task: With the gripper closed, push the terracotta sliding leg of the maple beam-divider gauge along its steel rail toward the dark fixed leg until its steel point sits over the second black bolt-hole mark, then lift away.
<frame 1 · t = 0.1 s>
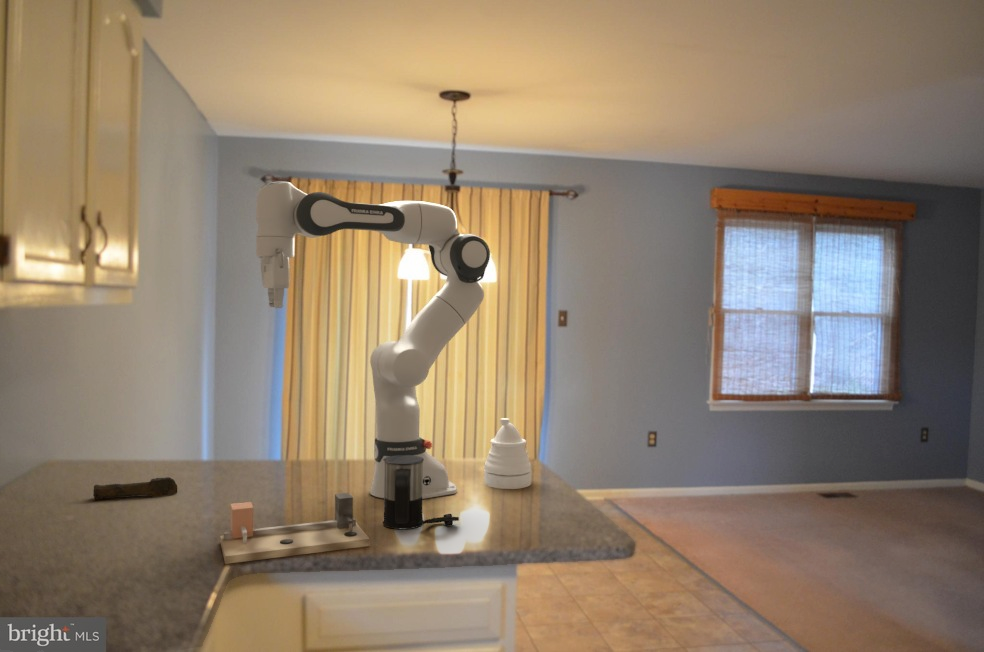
hand: (275, 307, 181), 48 cm above the worktop, fingers open, 8 cm apart
milk frother: (420, 526, 169), on the worktop
sliding leg: (242, 523, 152), point 5 cm above the worktop, slide at 8.0 cm
honey pot: (507, 483, 207), on the worktop
hand tool: (136, 497, 189), on the worktop
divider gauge: (294, 544, 155), on the worktop
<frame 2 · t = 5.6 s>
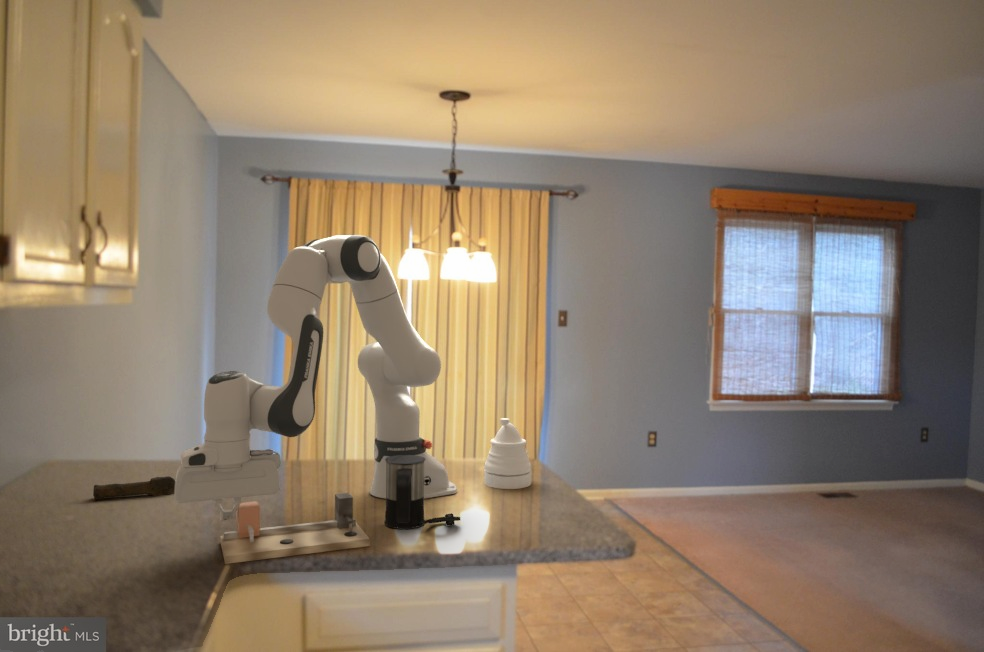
hand: (228, 519, 154), 5 cm above the worktop, fingers closed
sliding leg: (249, 522, 153), point 5 cm above the worktop, slide at 6.7 cm, touching gripper
everything else where it was.
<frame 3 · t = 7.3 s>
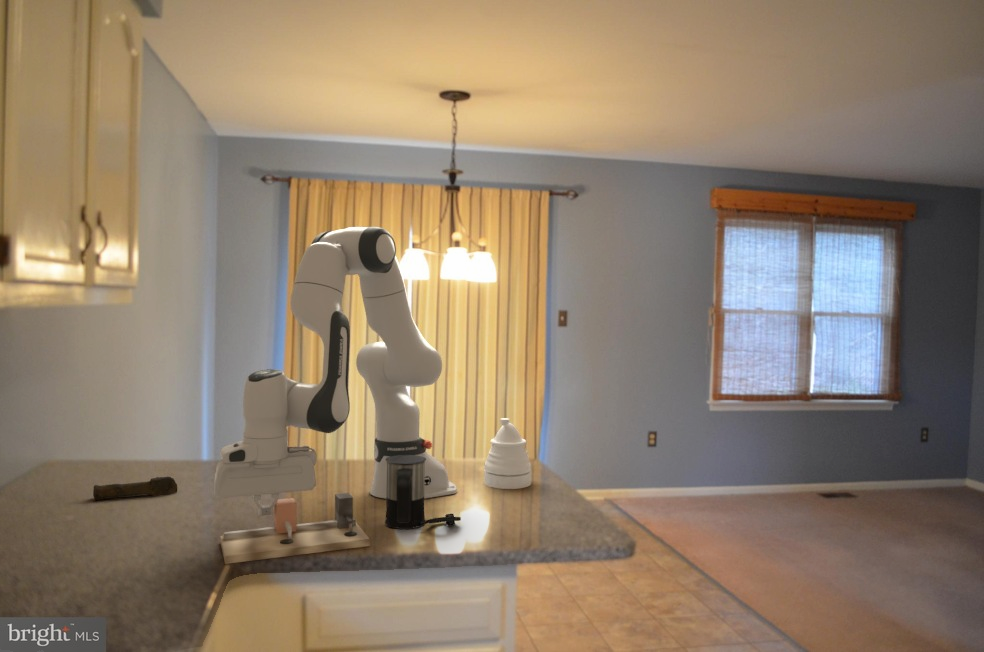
hand: (265, 514, 157), 6 cm above the worktop, fingers closed
sliding leg: (286, 519, 156), point 5 cm above the worktop, slide at -0.6 cm, touching gripper
everything else where it was.
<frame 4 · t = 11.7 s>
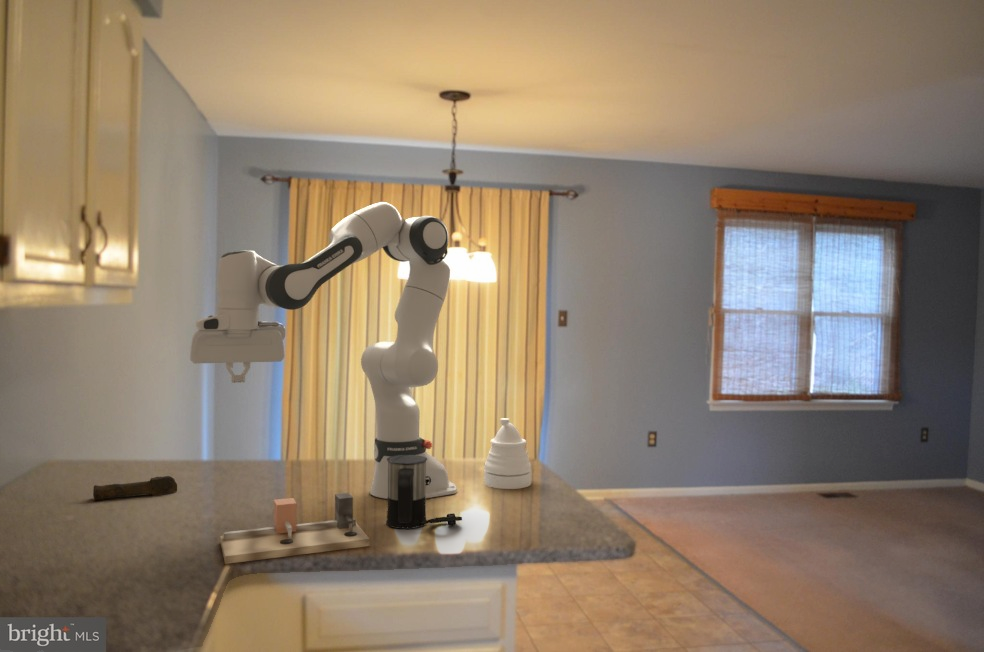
hand: (238, 382, 171), 31 cm above the worktop, fingers closed
sliding leg: (286, 519, 156), point 5 cm above the worktop, slide at -0.6 cm
everything else where it was.
at the end: sliding leg slide at -0.6 cm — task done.
